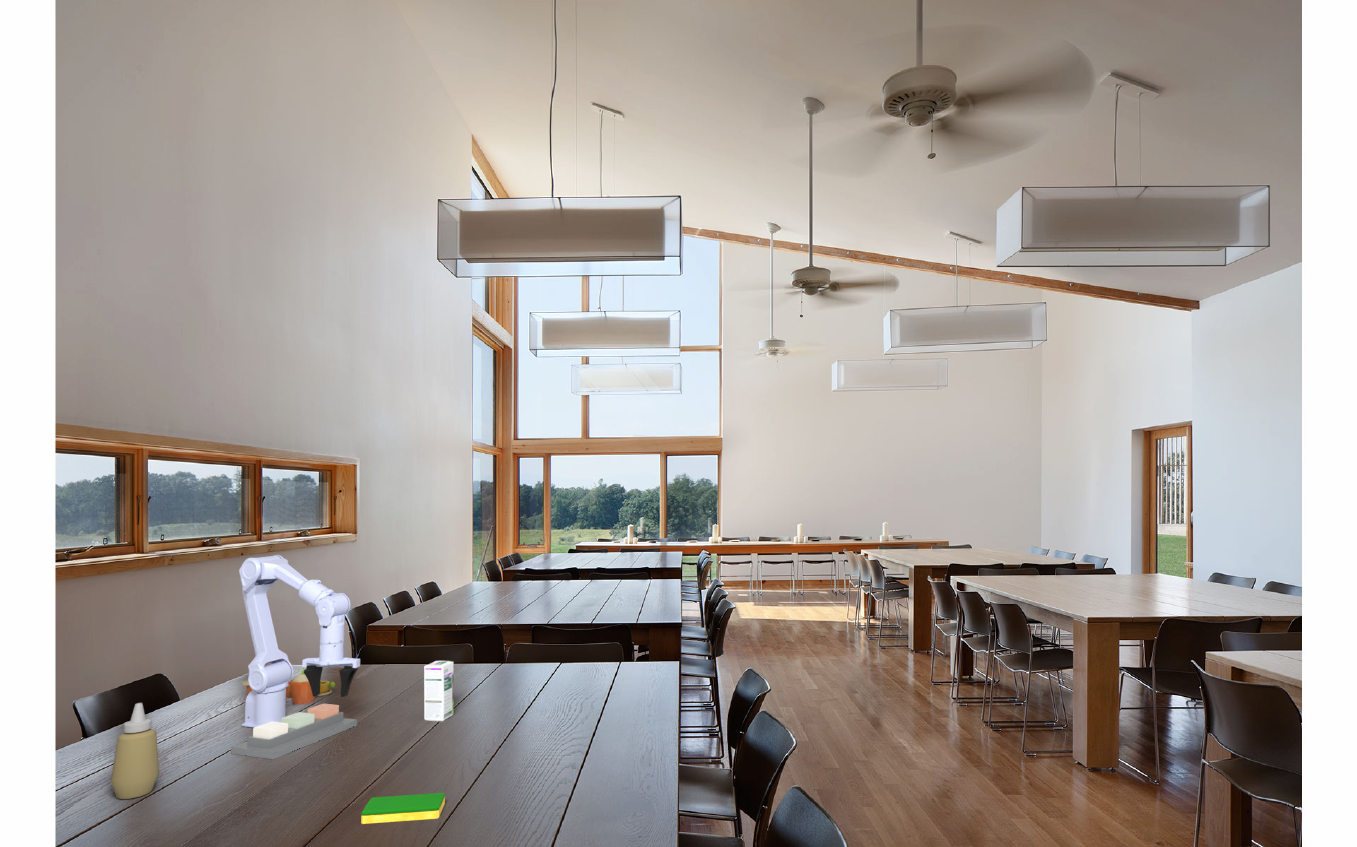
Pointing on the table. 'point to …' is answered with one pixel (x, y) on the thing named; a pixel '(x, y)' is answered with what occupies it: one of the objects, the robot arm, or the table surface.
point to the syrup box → (438, 690)
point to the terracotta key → (324, 710)
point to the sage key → (298, 720)
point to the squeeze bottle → (135, 757)
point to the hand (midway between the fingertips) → (330, 695)
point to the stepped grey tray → (294, 738)
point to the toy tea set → (301, 689)
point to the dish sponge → (403, 808)
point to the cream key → (270, 730)
